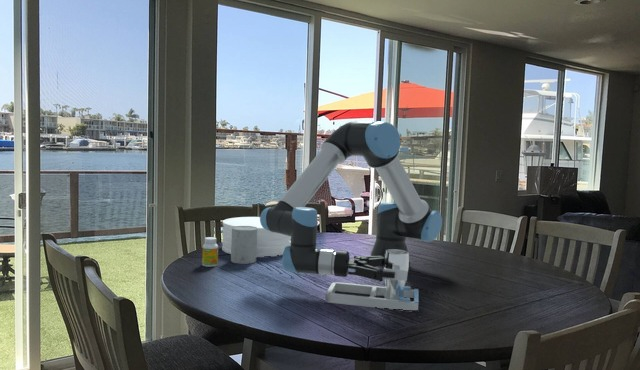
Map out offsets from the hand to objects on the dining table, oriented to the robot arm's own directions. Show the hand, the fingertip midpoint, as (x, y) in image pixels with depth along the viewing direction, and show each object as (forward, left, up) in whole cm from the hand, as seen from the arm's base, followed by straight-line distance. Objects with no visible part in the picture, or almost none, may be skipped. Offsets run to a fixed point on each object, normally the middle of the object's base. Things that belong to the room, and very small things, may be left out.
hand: (407, 269), depth 147 cm
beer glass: (+3, -2, -10) cm, 11 cm away
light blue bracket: (-1, 0, -10) cm, 10 cm away
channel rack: (+8, -5, -10) cm, 14 cm away
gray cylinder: (+36, -58, -10) cm, 69 cm away
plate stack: (+27, -77, -10) cm, 82 cm away
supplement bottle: (+49, -53, -10) cm, 73 cm away
